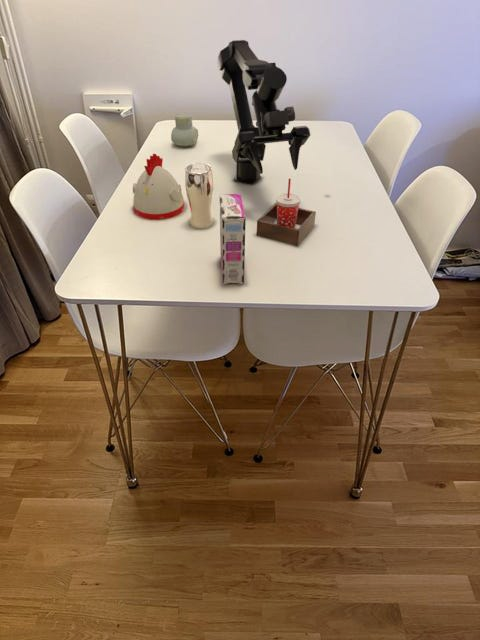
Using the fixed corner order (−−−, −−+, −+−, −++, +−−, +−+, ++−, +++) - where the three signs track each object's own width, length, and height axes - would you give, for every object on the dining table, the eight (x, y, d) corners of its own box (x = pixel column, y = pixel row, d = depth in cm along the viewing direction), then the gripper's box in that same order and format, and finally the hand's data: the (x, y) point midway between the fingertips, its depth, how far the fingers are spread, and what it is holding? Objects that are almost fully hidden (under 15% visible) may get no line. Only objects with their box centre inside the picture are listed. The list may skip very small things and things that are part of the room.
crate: (256, 235, 117) (256, 220, 115) (274, 216, 125) (275, 202, 122) (297, 246, 113) (299, 231, 111) (314, 226, 121) (316, 211, 118)
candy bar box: (245, 284, 101) (246, 217, 91) (222, 285, 101) (221, 218, 90) (241, 257, 110) (241, 192, 99) (220, 258, 109) (218, 193, 99)
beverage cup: (290, 239, 116) (295, 186, 107) (269, 232, 119) (272, 180, 110) (301, 228, 120) (306, 177, 111) (280, 222, 123) (284, 171, 113)
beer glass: (218, 219, 124) (216, 164, 114) (208, 231, 119) (206, 175, 109) (194, 215, 126) (191, 161, 116) (184, 227, 121) (179, 171, 111)
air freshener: (177, 138, 172) (175, 110, 166) (199, 139, 171) (198, 111, 165) (170, 148, 164) (167, 119, 157) (193, 150, 163) (191, 120, 156)
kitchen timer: (125, 214, 126) (115, 160, 116) (149, 194, 136) (142, 142, 126) (170, 223, 122) (164, 168, 113) (192, 201, 132) (188, 149, 122)
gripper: (237, 97, 107) (250, 161, 106) (311, 91, 111) (325, 152, 110) (229, 122, 118) (241, 180, 117) (296, 115, 122) (309, 172, 121)
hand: (279, 171), depth 116 cm, fingers open, 9 cm apart
